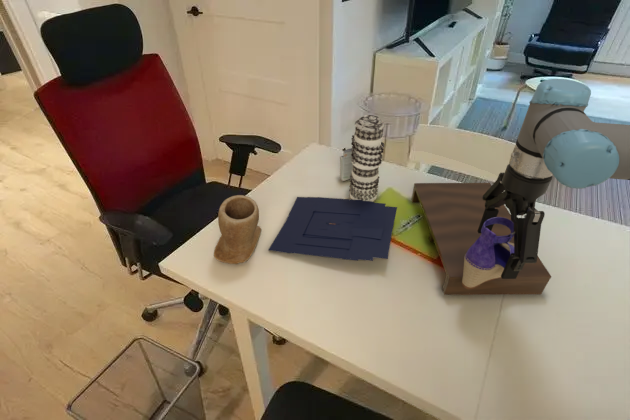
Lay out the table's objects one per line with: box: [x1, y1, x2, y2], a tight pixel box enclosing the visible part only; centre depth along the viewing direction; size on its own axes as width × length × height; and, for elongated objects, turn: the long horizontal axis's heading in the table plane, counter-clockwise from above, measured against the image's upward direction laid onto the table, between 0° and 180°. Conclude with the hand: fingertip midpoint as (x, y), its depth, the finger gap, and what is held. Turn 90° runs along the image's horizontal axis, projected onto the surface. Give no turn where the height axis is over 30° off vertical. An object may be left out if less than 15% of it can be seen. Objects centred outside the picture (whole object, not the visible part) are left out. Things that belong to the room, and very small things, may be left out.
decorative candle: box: [348, 114, 386, 202], centre depth 106 cm, size 9×9×25 cm
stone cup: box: [213, 194, 262, 265], centre depth 92 cm, size 15×12×15 cm
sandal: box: [462, 217, 521, 289], centre depth 78 cm, size 8×20×15 cm, turn 118°
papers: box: [268, 196, 398, 262], centre depth 100 cm, size 24×30×4 cm
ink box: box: [339, 147, 353, 182], centre depth 119 cm, size 12×2×12 cm, turn 115°
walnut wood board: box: [411, 182, 552, 296], centre depth 96 cm, size 36×22×6 cm, turn 0°
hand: (495, 253), depth 80 cm, fingers open, 13 cm apart
